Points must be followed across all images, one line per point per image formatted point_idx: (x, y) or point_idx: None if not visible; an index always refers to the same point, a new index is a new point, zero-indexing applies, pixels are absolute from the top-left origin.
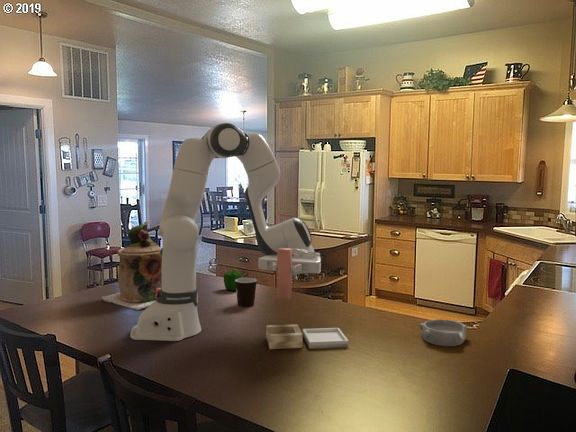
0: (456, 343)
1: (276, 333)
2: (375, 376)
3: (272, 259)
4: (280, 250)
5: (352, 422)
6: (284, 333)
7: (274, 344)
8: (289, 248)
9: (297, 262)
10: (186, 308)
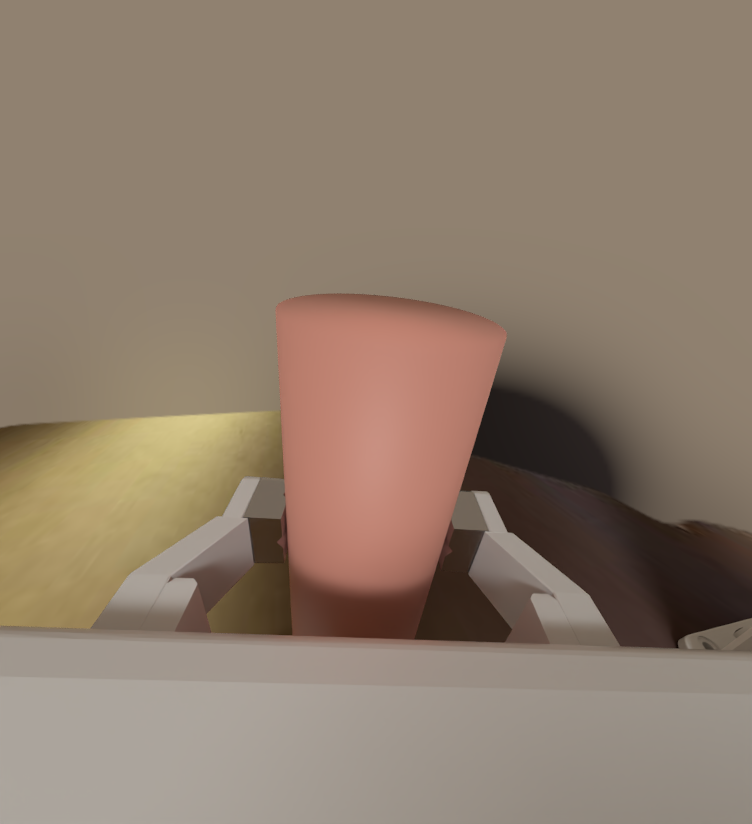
0: None
1: None
2: (70, 535)
3: (677, 655)
4: (415, 303)
5: (204, 420)
6: None
7: None
8: (332, 333)
9: (178, 633)
10: None
